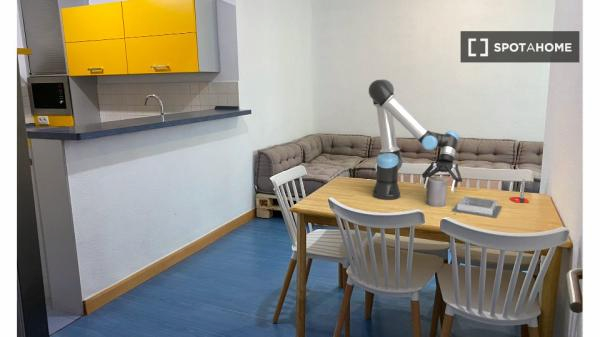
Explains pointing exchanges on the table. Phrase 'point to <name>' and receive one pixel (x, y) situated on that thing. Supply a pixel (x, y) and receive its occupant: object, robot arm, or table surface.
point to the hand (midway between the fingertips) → (438, 190)
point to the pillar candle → (436, 191)
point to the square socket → (478, 207)
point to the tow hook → (521, 198)
